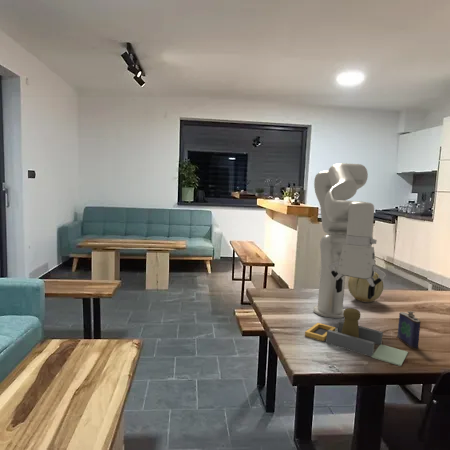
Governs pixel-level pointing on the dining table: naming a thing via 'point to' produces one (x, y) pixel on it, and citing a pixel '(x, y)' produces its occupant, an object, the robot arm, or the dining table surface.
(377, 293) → the cantaloupe
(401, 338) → the flask
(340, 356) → the dining table surface
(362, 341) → the grey parallel walls
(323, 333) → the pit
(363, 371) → the dining table surface
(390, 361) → the mat
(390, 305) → the dining table surface
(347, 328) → the cork
